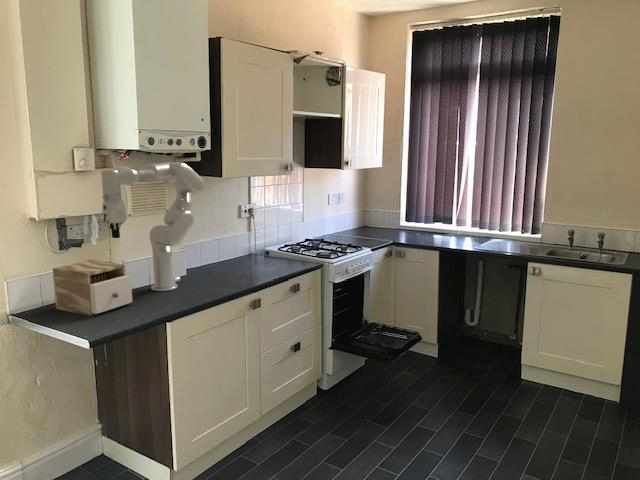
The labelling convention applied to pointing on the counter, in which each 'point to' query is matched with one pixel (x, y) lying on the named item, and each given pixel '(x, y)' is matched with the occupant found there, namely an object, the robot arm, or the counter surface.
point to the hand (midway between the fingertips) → (116, 237)
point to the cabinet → (81, 284)
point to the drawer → (110, 294)
